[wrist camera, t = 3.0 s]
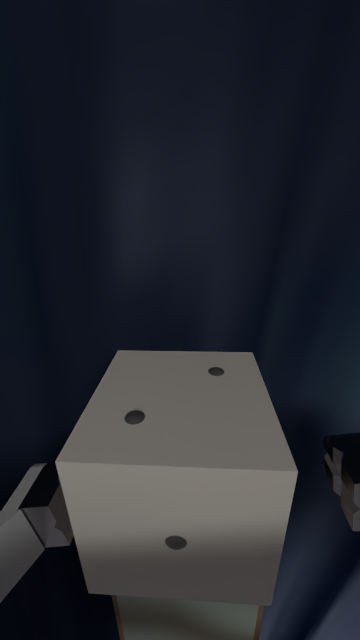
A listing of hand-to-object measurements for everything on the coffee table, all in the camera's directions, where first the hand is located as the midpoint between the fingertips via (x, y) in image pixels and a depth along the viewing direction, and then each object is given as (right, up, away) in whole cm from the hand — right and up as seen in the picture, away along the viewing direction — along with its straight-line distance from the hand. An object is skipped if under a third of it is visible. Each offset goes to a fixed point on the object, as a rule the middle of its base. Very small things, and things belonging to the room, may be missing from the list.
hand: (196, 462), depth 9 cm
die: (0, +1, +2) cm, 2 cm away
